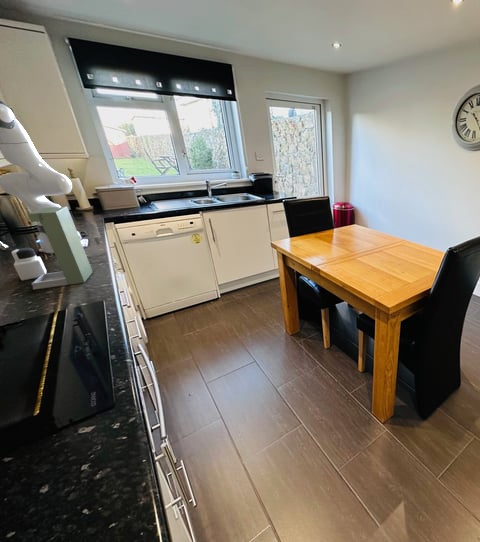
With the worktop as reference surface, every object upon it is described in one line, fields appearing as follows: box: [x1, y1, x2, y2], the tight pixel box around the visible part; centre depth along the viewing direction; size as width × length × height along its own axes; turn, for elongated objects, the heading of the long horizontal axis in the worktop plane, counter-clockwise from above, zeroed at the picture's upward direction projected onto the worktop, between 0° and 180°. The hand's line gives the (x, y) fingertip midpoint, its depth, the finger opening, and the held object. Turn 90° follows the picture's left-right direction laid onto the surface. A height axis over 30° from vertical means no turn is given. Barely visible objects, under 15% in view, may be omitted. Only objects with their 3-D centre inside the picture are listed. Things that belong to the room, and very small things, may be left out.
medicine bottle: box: [11, 247, 47, 281], centre depth 117 cm, size 7×7×12 cm
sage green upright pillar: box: [27, 206, 93, 291], centre depth 111 cm, size 12×15×29 cm
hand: (0, 252), depth 112 cm, fingers open, 8 cm apart
